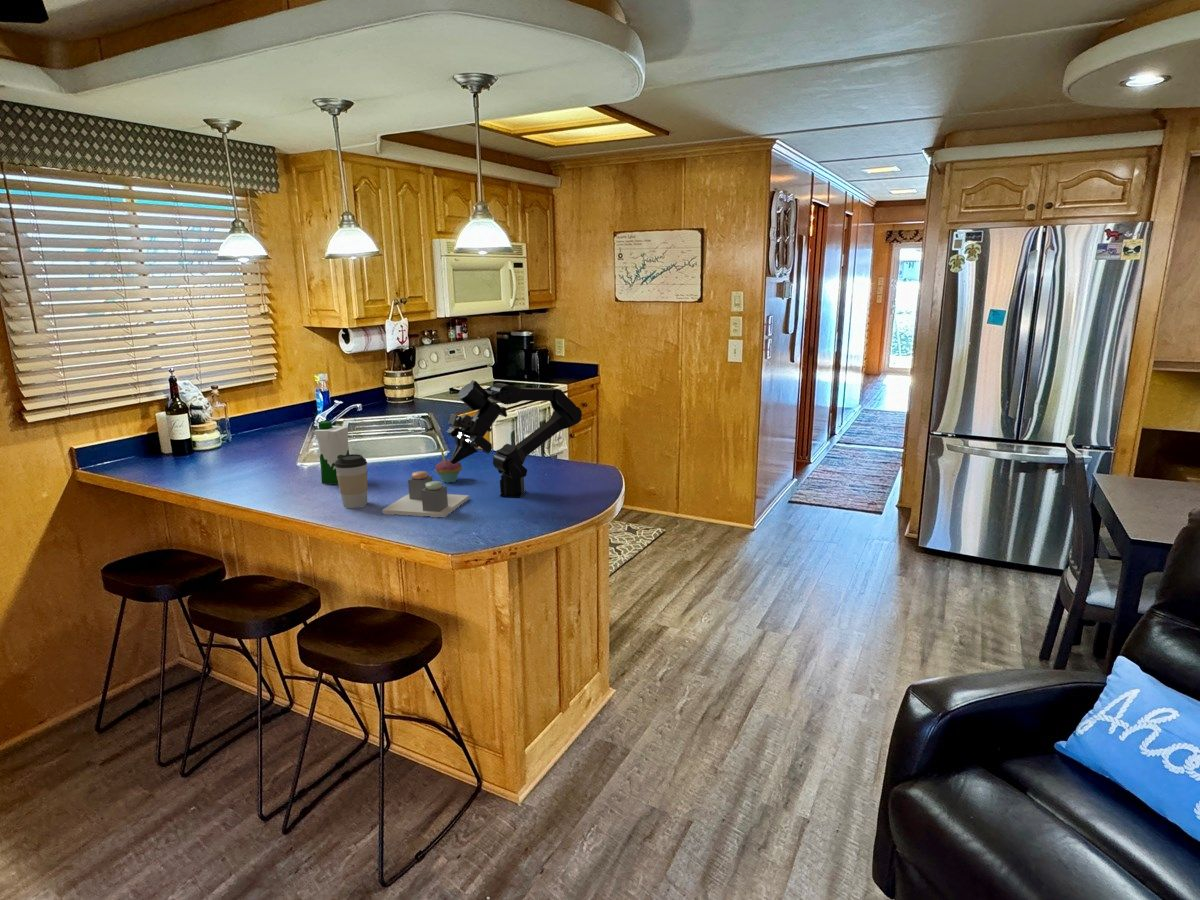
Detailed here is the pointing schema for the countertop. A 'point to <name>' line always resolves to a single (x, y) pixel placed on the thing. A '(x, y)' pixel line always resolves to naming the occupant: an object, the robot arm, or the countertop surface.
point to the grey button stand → (425, 501)
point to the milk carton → (331, 448)
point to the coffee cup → (352, 480)
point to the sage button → (433, 485)
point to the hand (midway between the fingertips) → (451, 463)
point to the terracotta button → (420, 475)
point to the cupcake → (448, 469)
